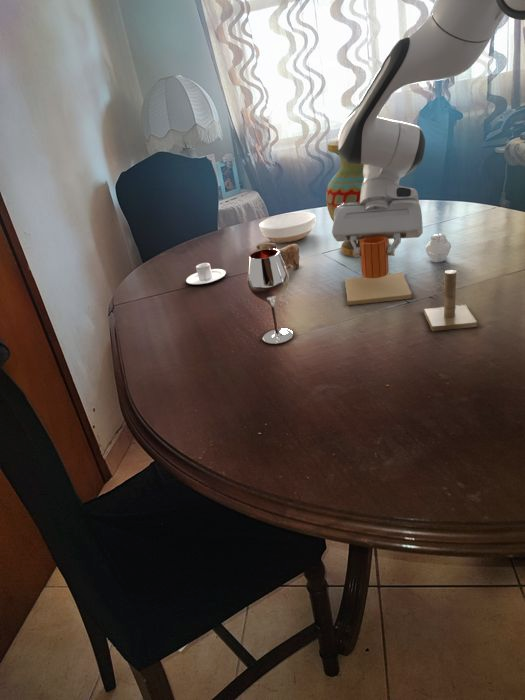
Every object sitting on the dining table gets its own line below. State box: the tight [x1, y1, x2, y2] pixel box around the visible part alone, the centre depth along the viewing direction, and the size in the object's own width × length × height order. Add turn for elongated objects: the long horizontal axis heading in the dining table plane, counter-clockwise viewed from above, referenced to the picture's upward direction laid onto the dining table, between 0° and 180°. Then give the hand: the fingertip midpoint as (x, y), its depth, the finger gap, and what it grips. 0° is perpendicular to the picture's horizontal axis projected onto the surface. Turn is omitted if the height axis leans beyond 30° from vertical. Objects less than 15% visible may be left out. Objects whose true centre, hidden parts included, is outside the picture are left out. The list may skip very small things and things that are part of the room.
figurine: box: [256, 242, 301, 270], centre depth 128 cm, size 7×16×10 cm, turn 139°
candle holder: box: [185, 262, 227, 285], centre depth 136 cm, size 12×12×4 cm
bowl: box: [258, 211, 317, 244], centre depth 159 cm, size 20×20×6 cm
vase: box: [325, 139, 390, 257], centre depth 130 cm, size 20×20×30 cm
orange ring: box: [360, 236, 390, 278], centre depth 105 cm, size 6×6×8 cm
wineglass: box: [247, 248, 294, 345], centre depth 92 cm, size 8×8×18 cm
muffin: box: [425, 233, 452, 263], centre depth 117 cm, size 6×6×7 cm
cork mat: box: [344, 271, 413, 306], centre depth 109 cm, size 14×14×1 cm
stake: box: [423, 269, 478, 332], centre depth 88 cm, size 8×8×10 cm
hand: (373, 255), depth 104 cm, fingers closed on orange ring, 6 cm apart
